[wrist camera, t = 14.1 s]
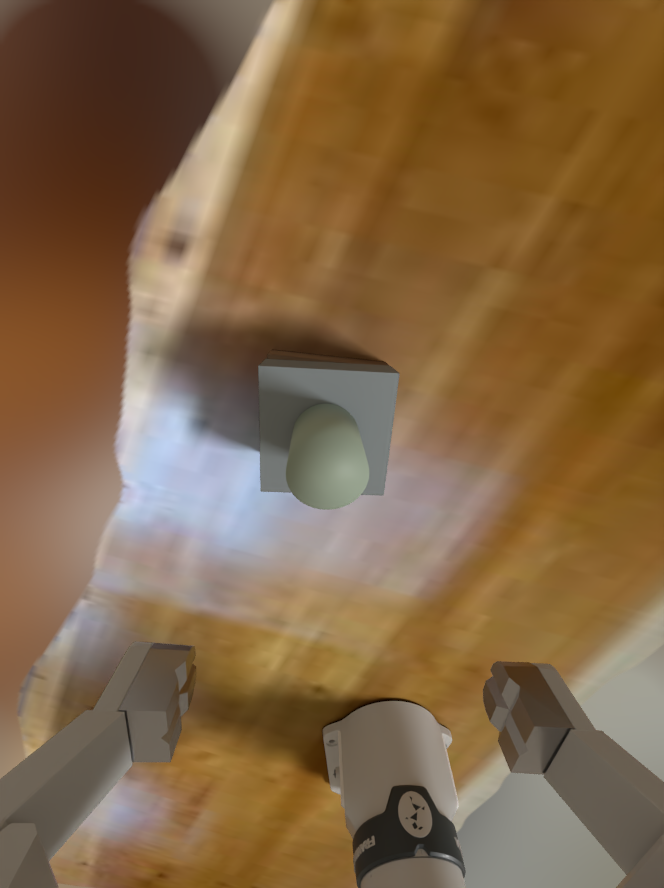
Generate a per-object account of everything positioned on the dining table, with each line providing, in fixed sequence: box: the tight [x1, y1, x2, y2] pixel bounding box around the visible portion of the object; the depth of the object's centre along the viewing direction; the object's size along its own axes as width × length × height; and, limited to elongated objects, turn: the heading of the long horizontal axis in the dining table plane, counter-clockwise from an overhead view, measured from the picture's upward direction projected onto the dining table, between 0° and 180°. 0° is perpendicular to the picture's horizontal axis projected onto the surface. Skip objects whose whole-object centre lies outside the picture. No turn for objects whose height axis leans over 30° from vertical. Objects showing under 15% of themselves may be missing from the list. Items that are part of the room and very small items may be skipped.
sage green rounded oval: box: [286, 404, 369, 510], centre depth 23 cm, size 5×5×6 cm
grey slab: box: [258, 359, 399, 496], centre depth 28 cm, size 10×10×4 cm
